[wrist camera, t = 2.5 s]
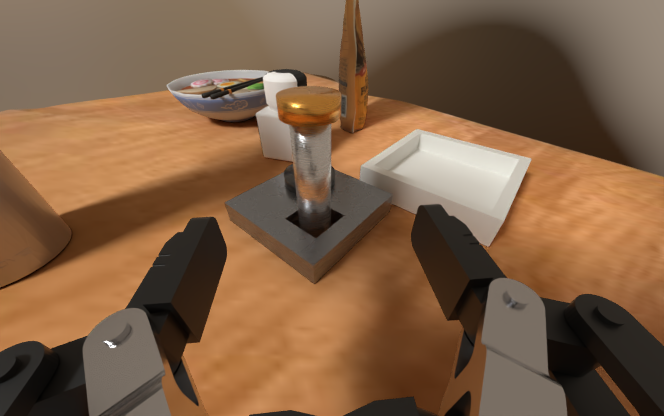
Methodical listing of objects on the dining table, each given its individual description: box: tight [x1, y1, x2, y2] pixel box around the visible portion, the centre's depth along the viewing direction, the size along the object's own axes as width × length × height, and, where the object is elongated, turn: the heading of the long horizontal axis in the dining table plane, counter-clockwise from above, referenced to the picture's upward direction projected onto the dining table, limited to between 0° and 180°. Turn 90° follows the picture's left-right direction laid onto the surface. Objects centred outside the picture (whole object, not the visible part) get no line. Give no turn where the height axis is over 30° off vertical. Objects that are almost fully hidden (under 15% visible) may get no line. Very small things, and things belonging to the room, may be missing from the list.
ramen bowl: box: [167, 70, 269, 122], centre depth 53 cm, size 25×23×8 cm
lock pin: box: [276, 86, 341, 238], centre depth 22 cm, size 5×5×14 cm
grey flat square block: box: [225, 164, 393, 284], centre depth 27 cm, size 13×13×4 cm
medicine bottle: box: [256, 69, 307, 162], centre depth 38 cm, size 7×7×12 cm
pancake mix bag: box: [339, 0, 368, 133], centre depth 45 cm, size 7×19×28 cm, turn 173°
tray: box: [360, 129, 531, 247], centre depth 33 cm, size 16×16×4 cm
